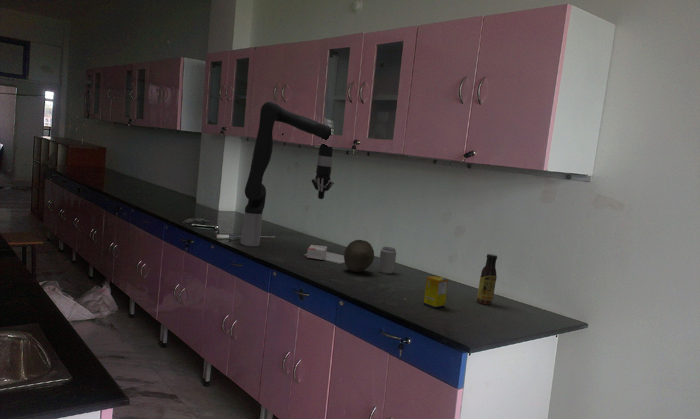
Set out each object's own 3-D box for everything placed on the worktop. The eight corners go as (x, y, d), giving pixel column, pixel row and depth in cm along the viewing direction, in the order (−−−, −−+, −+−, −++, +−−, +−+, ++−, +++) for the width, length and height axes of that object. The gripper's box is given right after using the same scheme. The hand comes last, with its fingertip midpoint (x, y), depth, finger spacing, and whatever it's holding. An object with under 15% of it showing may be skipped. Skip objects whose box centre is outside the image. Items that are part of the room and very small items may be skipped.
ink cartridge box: (307, 248, 265) (311, 243, 279) (306, 257, 265) (310, 252, 280) (324, 250, 264) (328, 245, 279) (323, 260, 265) (326, 254, 279)
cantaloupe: (336, 271, 244) (340, 239, 243) (349, 267, 257) (353, 236, 256) (365, 277, 239) (369, 244, 237) (377, 273, 251) (380, 241, 250)
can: (382, 269, 260) (385, 245, 259) (396, 273, 256) (399, 248, 255) (375, 271, 253) (378, 246, 252) (389, 275, 250) (392, 249, 248)
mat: (303, 255, 274) (304, 254, 274) (324, 252, 289) (324, 251, 289) (339, 263, 263) (339, 262, 262) (359, 260, 278) (359, 259, 278)
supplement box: (432, 303, 208) (436, 275, 207) (445, 307, 204) (448, 279, 203) (422, 304, 204) (426, 276, 203) (435, 309, 200) (438, 280, 199)
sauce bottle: (481, 305, 213) (488, 255, 211) (473, 300, 219) (480, 252, 217) (495, 305, 215) (502, 256, 213) (487, 301, 221) (494, 253, 219)
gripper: (339, 166, 275) (335, 200, 277) (318, 164, 282) (314, 197, 284) (330, 166, 269) (327, 200, 271) (309, 163, 276) (306, 197, 278)
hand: (320, 198), depth 277 cm, fingers closed
